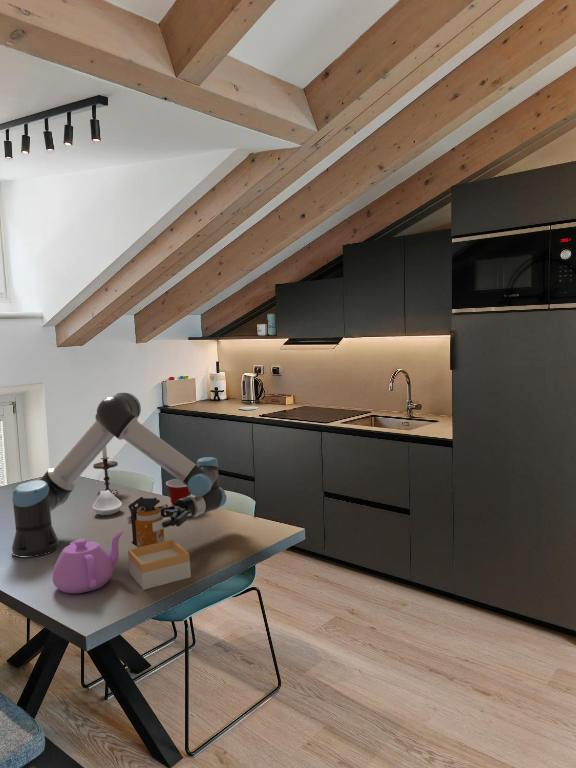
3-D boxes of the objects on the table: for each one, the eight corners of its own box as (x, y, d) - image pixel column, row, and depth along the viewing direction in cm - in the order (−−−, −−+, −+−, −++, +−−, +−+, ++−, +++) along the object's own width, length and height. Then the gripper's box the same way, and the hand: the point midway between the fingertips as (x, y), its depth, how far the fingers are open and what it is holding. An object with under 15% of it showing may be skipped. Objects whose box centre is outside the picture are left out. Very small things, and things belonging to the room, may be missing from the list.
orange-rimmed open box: (143, 589, 175) (141, 564, 174) (129, 573, 187) (127, 549, 186) (190, 577, 182) (189, 553, 181) (174, 562, 194) (172, 539, 194)
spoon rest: (124, 515, 248) (122, 498, 247) (94, 520, 244) (92, 502, 243) (117, 501, 270) (116, 485, 269) (90, 505, 266) (89, 489, 265)
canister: (158, 562, 195) (154, 501, 193) (127, 561, 197) (122, 501, 195) (169, 551, 204) (165, 494, 202) (139, 550, 206) (135, 493, 204)
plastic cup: (181, 515, 244) (179, 486, 243) (162, 511, 249) (160, 483, 248) (199, 507, 253) (197, 479, 252) (179, 504, 259) (178, 477, 257)
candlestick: (113, 489, 289) (107, 417, 286) (124, 493, 281) (118, 419, 278) (91, 494, 282) (85, 420, 278) (102, 498, 274) (96, 422, 270)
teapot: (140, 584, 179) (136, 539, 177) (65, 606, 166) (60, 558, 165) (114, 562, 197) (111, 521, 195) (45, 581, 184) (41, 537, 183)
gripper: (214, 523, 206) (165, 542, 190) (167, 511, 222) (118, 528, 206) (213, 502, 205) (163, 519, 189) (166, 491, 221) (117, 506, 205)
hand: (140, 523), depth 197 cm, fingers open, 13 cm apart
